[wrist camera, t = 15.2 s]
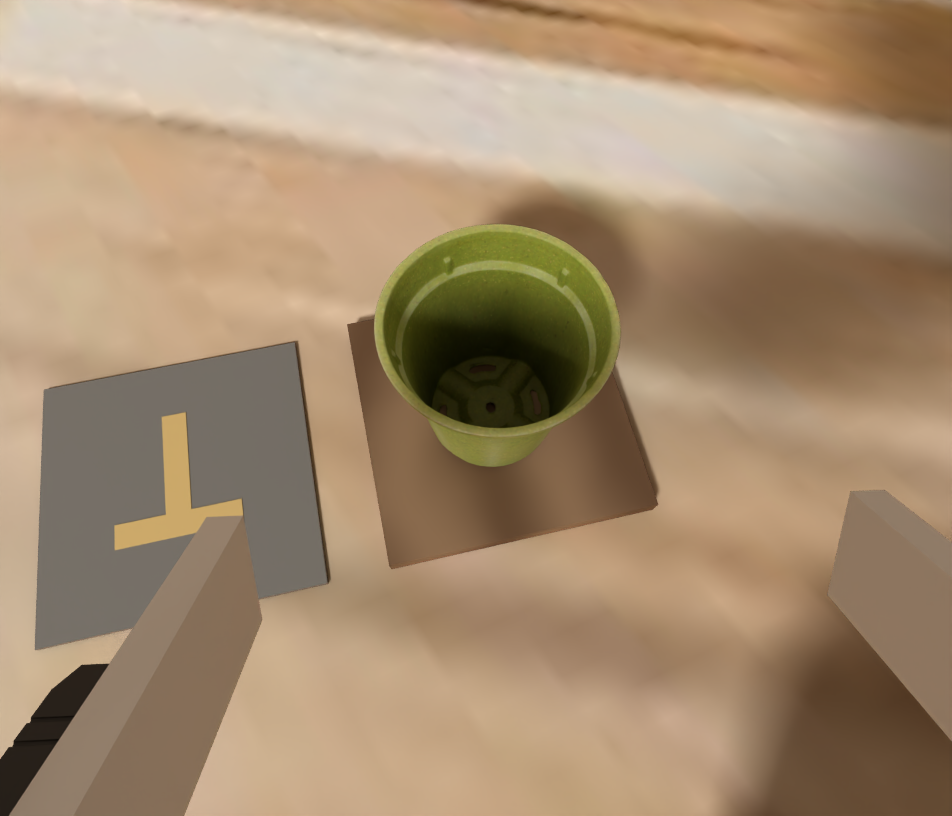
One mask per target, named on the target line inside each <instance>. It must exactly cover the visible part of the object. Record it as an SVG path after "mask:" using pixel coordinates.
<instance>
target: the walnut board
mask: <svg viewBox="0 0 952 816" xmlns="http://www.w3.org/2000/svg"><path fill="white" fill-rule="evenodd" d="M374 321H375V319H373V320H368V321H362V322H357V323H352V324H347V326H348V332H349V337H350V343H351V349H352V355H353V360H354V366H355V372H356V378H357V383H358V389H359V395H360V400H361V406H362V412H363V418H364V423H365V429H366V435H367V441H368V446H369V452H370V458H371V464H372V469H373V475H374V481H375V486H376V492H377V498H378V504H379V509H380V515H381V521H382V527H383V532H384V538H385V544H386V549H387V555H388V561H389V566H390V567H391V569H395V568H399V567H403V566H408V565H412V564H416V563H421V562H425V561H429V560H434V559H438V558H443V557H447V556H451V555H456V554H460V553H464V552H469V551H473V550H478V549H482V548H486V547H491V546H495V545H499V544H504V543H508V542H513V541H517V540H521V539H526V538H530V537H534V536H539V535H543V534H548V533H552V532H556V531H561V530H565V529H569V528H574V527H578V526H583V525H587V524H591V523H596V522H600V521H604V520H609V519H613V518H618V517H622V516H626V515H631V514H635V513H639V512H644V511H648V510H652V509H654V508H655V507H656V506H657V505H658V502H657V499H656V497H655V494H654V491H653V488H652V485H651V482H650V479H649V476H648V474H647V471H646V468H645V465H644V462H643V459H642V456H641V453H640V450H639V448H638V445H637V442H636V439H635V436H634V433H633V430H632V427H631V425H630V422H629V419H628V416H627V413H626V410H625V407H624V404H623V402H622V399H621V396H620V393H619V390H618V387H617V384H616V381H615V378H614V376H613V373H612V372H611V374H610V376H609V378H608V380H607V381H606V383H605V384H604V386H603V388H602V389H601V390H600V391H599V393H598V394H597V395H596V396H595V397H594V399H593V400H592V401H591V402H590V403H589V404H588V405H587V406H586V407H585V408H583V409H582V410H581V411H580V412H578V413H577V414H576V415H574V416H573V417H571V418H570V419H568V420H566V421H565V422H563V423H561V424H559V425H557V426H555V427H553V428H552V429H551V430H550V432H549V433H548V435H547V436H546V437H545V438H544V440H543V441H542V442H541V444H540V445H539V446H538V447H537V448H536V449H535V450H534V451H533V452H532V453H531V454H529V455H528V456H526V457H525V458H523V459H521V460H519V461H517V462H515V463H512V464H509V465H504V466H497V467H487V466H479V465H475V464H471V463H469V462H466V461H465V460H463V459H461V458H459V457H458V456H456V455H454V454H453V453H452V452H450V451H449V450H448V449H447V448H446V447H444V446H443V445H442V443H441V442H440V441H439V439H438V438H437V436H436V434H435V432H434V430H433V428H432V427H431V425H430V423H429V421H428V419H427V418H426V417H424V416H423V415H422V414H420V413H419V412H418V411H416V410H415V409H414V408H413V407H412V406H410V405H409V404H408V403H407V402H406V401H405V400H404V399H403V397H402V396H401V395H400V394H399V393H398V392H397V390H396V389H395V388H394V386H393V385H392V383H391V382H390V380H389V379H388V377H387V375H386V373H385V371H384V369H383V367H382V364H381V362H380V359H379V356H378V353H377V348H376V343H375V335H374ZM495 369H496V367H495V366H493V365H478V366H475V367H473V368H471V369H470V371H469V372H470V373H477V372H481V371H494V370H495ZM530 394H531V396H532V400H533V404H534V413H535V414H536V415H538V414H540V413H541V404H540V402H539V400H538V397H537V393H536V392H535V391H533V390H532V391H531V392H530ZM486 409H487V411H489V412H493V411H495V409H496V408H495V404H494V403H491V402H490V403H487V405H486ZM440 413H441V414H443V415H445V416H447V410H446V405H442V407H441V408H440Z"/></svg>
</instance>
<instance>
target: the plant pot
mask: <svg viewBox="0 0 952 816" xmlns="http://www.w3.org/2000/svg"><path fill="white" fill-rule="evenodd" d="M374 335H375V343H376V348H377V353H378V356H379V359H380V362H381V364H382V367H383V369H384V371H385V373H386V375H387V377H388V379H389V380H390V382H391V383H392V385H393V386H394V388H395V389H396V390H397V392H398V393H399V394H400V395H401V396H402V397H403V399H404V400H405V401H406V402H407V403H408V404H409V405H410V406H412V407H413V408H414V409H415V410H416V411H418V412H419V413H420V414H422V415H423V416H424V417H426V418H427V419H428V421H429V423H430V425H431V427H432V428H433V430H434V432H435V434H436V436H437V438H438V439H439V441H440V442H441V443H442V445H443V446H444V447H446V448H447V449H448V450H449V451H450V452H452V453H453V454H454V455H456V456H458V457H459V458H461V459H463V460H465V461H466V462H469V463H471V464H475V465H479V466H487V467H497V466H504V465H509V464H512V463H515V462H517V461H519V460H521V459H523V458H525V457H526V456H528V455H529V454H531V453H532V452H533V451H534V450H535V449H536V448H537V447H538V446H539V445H540V444H541V442H542V441H543V440H544V438H545V437H546V436H547V435H548V433H549V432H550V430H551V429H552V428H553V427H555V426H557V425H559V424H561V423H563V422H565V421H566V420H568V419H570V418H571V417H573V416H574V415H576V414H577V413H578V412H580V411H581V410H582V409H583V408H585V407H586V406H587V405H588V404H589V403H590V402H591V401H592V400H593V399H594V397H595V396H596V395H597V394H598V393H599V391H600V390H601V389H602V388H603V386H604V384H605V383H606V381H607V380H608V378H609V376H610V374H611V372H612V370H613V368H614V365H615V362H616V359H617V356H618V352H619V346H620V336H621V328H620V318H619V313H618V310H617V306H616V302H615V299H614V297H613V294H612V292H611V290H610V288H609V286H608V285H607V283H606V281H605V280H604V278H603V276H602V275H601V274H600V272H599V271H598V270H597V268H596V267H595V266H594V265H593V264H592V263H591V262H590V260H589V259H587V258H586V257H585V256H584V255H582V254H581V253H580V252H578V251H577V250H576V249H575V248H573V247H572V246H570V245H569V244H567V243H566V242H564V241H562V240H560V239H558V238H556V237H554V236H552V235H549V234H547V233H545V232H542V231H539V230H536V229H531V228H527V227H523V226H516V225H508V224H488V225H477V226H471V227H465V228H461V229H457V230H454V231H451V232H447V233H445V234H443V235H440V236H438V237H436V238H435V239H433V240H431V241H429V242H427V243H425V244H424V245H422V246H421V247H419V248H418V249H416V250H415V251H414V252H413V253H411V254H410V255H409V256H408V257H407V258H406V259H405V260H404V261H402V262H401V264H399V265H398V266H397V267H396V269H395V270H394V272H393V273H392V275H391V276H390V277H389V279H388V281H387V282H386V284H385V286H384V288H383V290H382V292H381V295H380V297H379V300H378V303H377V307H376V312H375V321H374ZM478 365H493V366H495V367H496V369H495V370H494V371H481V372H477V373H470V372H469V371H470V369H471V368H473V367H475V366H478ZM532 390H533V391H535V392H536V393H537V397H538V400H539V402H540V404H541V413H540V414H538V415H536V414H535V413H534V404H533V400H532V396H531V394H530V392H531V391H532ZM490 402H491V403H494V404H495V408H496V409H495V411H493V412H489V411H487V409H486V405H487V403H490ZM442 405H446V410H447V416H445V415H443V414H441V413H440V408H441V407H442Z"/></svg>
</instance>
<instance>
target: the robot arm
mask: <svg viewBox="0 0 952 816" xmlns="http://www.w3.org/2000/svg"><path fill="white" fill-rule="evenodd" d="M827 595H828V596H829V597H830V598H831V600H832V601H833V602H834V603H835V604H836V606H837V607H838V608H839V609H840V610H841V611H842V613H843V614H844V615H845V616H846V617H847V619H848V620H849V621H850V622H851V623H852V624H853V626H854V627H855V628H856V629H857V630H858V631H859V633H860V634H861V635H862V636H863V637H864V639H865V640H866V641H867V642H868V643H869V644H870V646H871V647H872V648H873V649H874V650H875V652H876V653H877V654H878V655H879V656H880V657H881V659H882V660H883V661H884V662H885V663H886V665H887V666H888V667H889V668H890V669H891V670H892V672H893V673H894V674H895V675H896V676H897V677H898V679H899V680H900V681H901V682H902V683H903V685H904V686H905V687H906V688H907V689H908V690H909V692H910V693H911V694H912V695H913V696H914V698H915V699H916V700H917V701H918V702H919V703H920V705H921V706H922V707H923V708H924V709H925V711H926V712H927V713H928V714H929V715H930V716H931V718H932V719H933V720H934V721H935V722H936V723H937V725H938V726H939V727H940V728H941V729H942V731H943V732H944V733H945V734H946V735H947V736H948V738H949V739H950V740H951V741H952V542H951V541H949V540H948V539H947V538H946V537H944V536H943V535H942V534H941V533H939V532H938V531H937V530H935V529H934V528H933V527H932V526H930V525H929V524H928V523H926V522H925V521H924V520H923V519H921V518H920V517H919V516H918V515H916V514H915V513H914V512H912V511H911V510H910V509H909V508H907V507H906V506H905V505H903V504H902V503H901V502H900V501H898V500H897V499H896V498H895V497H893V496H892V495H891V494H889V493H888V492H887V491H886V490H870V491H850V495H849V499H848V504H847V508H846V513H845V517H844V522H843V526H842V531H841V535H840V540H839V544H838V549H837V553H836V558H835V562H834V567H833V571H832V576H831V580H830V585H829V589H828V594H827ZM261 622H262V615H261V610H260V604H259V599H258V594H257V588H256V583H255V577H254V572H253V566H252V561H251V556H250V550H249V545H248V539H247V534H246V529H245V523H244V518H243V516H218V517H206V519H205V520H204V522H203V523H202V525H201V526H200V528H199V529H198V531H197V532H196V534H195V535H194V537H193V538H192V540H191V541H190V543H189V544H188V546H187V547H186V549H185V550H184V552H183V554H182V555H181V557H180V558H179V560H178V561H177V563H176V564H175V566H174V567H173V569H172V570H171V572H170V573H169V575H168V576H167V578H166V579H165V581H164V582H163V584H162V585H161V587H160V588H159V590H158V591H157V593H156V594H155V596H154V597H153V599H152V600H151V602H150V603H149V605H148V606H147V608H146V609H145V611H144V612H143V614H142V615H141V617H140V618H139V620H138V621H137V623H136V624H135V626H134V627H133V629H132V631H131V632H130V634H129V635H128V637H127V638H126V640H125V641H124V643H123V644H122V646H121V647H120V649H119V650H118V652H117V653H116V655H115V656H114V658H113V659H112V661H111V662H110V664H91V665H81V666H80V667H79V668H77V669H76V670H75V671H74V672H73V673H71V674H70V675H69V676H68V677H66V678H65V679H64V680H63V681H61V682H60V683H59V684H58V685H57V686H55V687H54V688H53V689H52V690H51V691H50V692H49V694H48V695H47V696H46V698H45V699H44V701H43V702H42V703H41V705H40V706H39V707H38V709H37V710H36V711H35V713H34V714H33V715H32V717H31V722H30V723H27V724H26V725H25V726H24V728H23V729H22V730H21V732H20V733H19V734H18V736H17V737H16V739H15V740H14V744H13V746H12V747H9V748H8V749H7V751H6V752H5V753H4V755H3V756H2V757H1V759H0V816H184V815H185V812H186V810H187V807H188V805H189V802H190V799H191V797H192V794H193V792H194V789H195V787H196V784H197V782H198V779H199V777H200V774H201V772H202V769H203V767H204V764H205V762H206V759H207V757H208V754H209V752H210V749H211V747H212V744H213V742H214V739H215V737H216V734H217V732H218V729H219V727H220V724H221V722H222V719H223V717H224V714H225V712H226V709H227V707H228V704H229V702H230V699H231V697H232V694H233V692H234V689H235V687H236V684H237V682H238V679H239V677H240V674H241V672H242V669H243V667H244V664H245V662H246V659H247V657H248V654H249V652H250V649H251V647H252V644H253V642H254V639H255V637H256V634H257V632H258V629H259V627H260V624H261Z"/></svg>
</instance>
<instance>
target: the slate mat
mask: <svg viewBox="0 0 952 816" xmlns="http://www.w3.org/2000/svg"><path fill="white" fill-rule="evenodd" d="M218 516H243V518H244V523H245V529H246V534H247V539H248V545H249V550H250V556H251V561H252V566H253V572H254V577H255V583H256V588H257V594H258V599H263V598H268V597H272V596H276V595H281V594H285V593H290V592H294V591H298V590H303V589H307V588H311V587H316V586H320V585H325V584H328V579H327V571H326V564H325V557H324V550H323V542H322V535H321V528H320V520H319V513H318V506H317V498H316V491H315V484H314V476H313V469H312V462H311V454H310V447H309V440H308V432H307V425H306V418H305V410H304V403H303V396H302V389H301V381H300V374H299V367H298V359H297V352H296V345H295V342H293V343H288V344H283V345H278V346H272V347H267V348H262V349H256V350H251V351H246V352H241V353H235V354H230V355H225V356H220V357H214V358H209V359H204V360H198V361H193V362H188V363H183V364H177V365H172V366H167V367H161V368H156V369H151V370H146V371H140V372H135V373H130V374H125V375H119V376H114V377H109V378H103V379H98V380H93V381H88V382H82V383H77V384H72V385H66V386H61V387H56V388H51V389H45V390H44V399H43V428H42V456H41V485H40V514H39V543H38V571H37V600H36V629H35V650H40V649H45V648H49V647H53V646H58V645H62V644H67V643H71V642H75V641H80V640H84V639H88V638H93V637H97V636H102V635H106V634H110V633H115V632H119V631H123V630H128V629H132V628H133V627H134V626H135V624H136V623H137V621H138V620H139V618H140V617H141V615H142V614H143V612H144V611H145V609H146V608H147V606H148V605H149V603H150V602H151V600H152V599H153V597H154V596H155V594H156V593H157V591H158V590H159V588H160V587H161V585H162V584H163V582H164V581H165V579H166V578H167V576H168V575H169V573H170V572H171V570H172V569H173V567H174V566H175V564H176V563H177V561H178V560H179V558H180V557H181V555H182V554H183V552H184V550H185V549H186V547H187V546H188V544H189V543H190V541H191V540H192V538H193V537H194V535H195V534H196V532H197V531H198V529H199V528H200V526H201V525H202V523H203V522H204V520H205V519H206V517H218Z"/></svg>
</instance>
